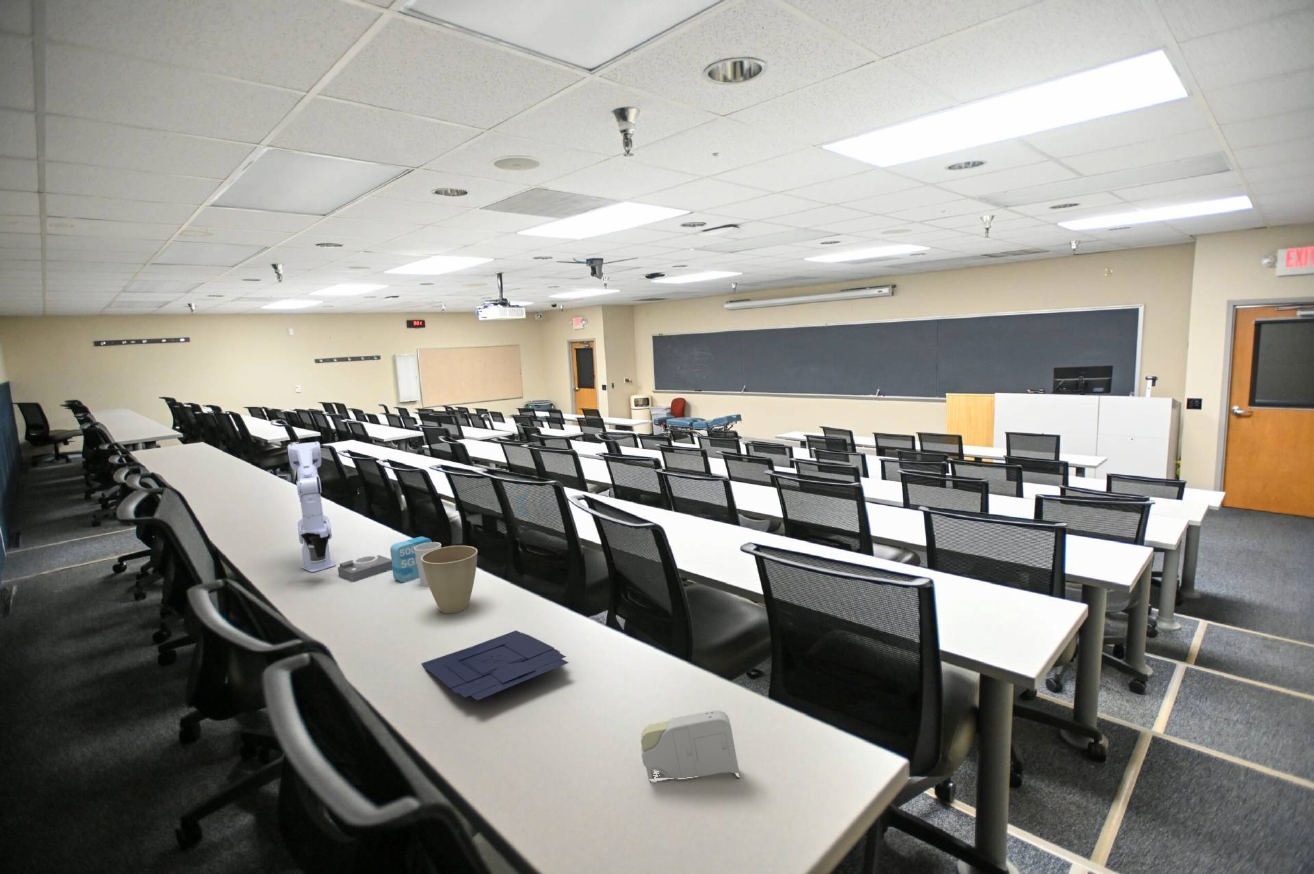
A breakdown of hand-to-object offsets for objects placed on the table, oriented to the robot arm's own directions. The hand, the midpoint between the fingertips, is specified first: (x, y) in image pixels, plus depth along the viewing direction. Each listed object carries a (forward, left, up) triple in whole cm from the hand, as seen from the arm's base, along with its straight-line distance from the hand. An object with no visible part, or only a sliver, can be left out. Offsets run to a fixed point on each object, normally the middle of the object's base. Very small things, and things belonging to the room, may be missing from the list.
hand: (317, 555), depth 194 cm
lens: (0, 0, -2) cm, 2 cm away
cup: (+33, +20, -9) cm, 39 cm away
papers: (+95, -2, -9) cm, 96 cm away
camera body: (+5, +13, -9) cm, 16 cm away
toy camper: (+150, -4, -9) cm, 151 cm away
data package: (+23, +20, -9) cm, 31 cm away
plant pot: (+57, +13, -9) cm, 59 cm away
